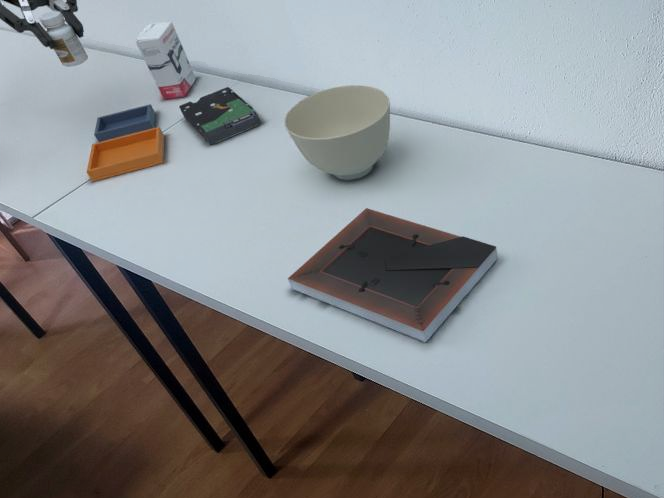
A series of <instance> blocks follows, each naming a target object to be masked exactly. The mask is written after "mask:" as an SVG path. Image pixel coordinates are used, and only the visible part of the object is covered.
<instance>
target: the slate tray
mask: <svg viewBox="0 0 664 498" xmlns="http://www.w3.org/2000/svg"><path fill="white" fill-rule="evenodd" d="M155 125H156V112H155V110H154V108H153V106H152V104H149V103H148V104H145V105H142V106H141V105H140V106H138V107H135V108H130V109H126V110H121V111H118V112H114V113H110V114H105V115H103V116H102V115H101V116H98V117H97V118H96V123H95V128H94V133H93V136H94V137H95V138H96V140H97V143H98V142H102V141H106V140H110V139H114V138H118V137H121V136H125V135H129V134H133V133H137V132H141V131H145V130H149V129H153V128H156V127H155Z"/></svg>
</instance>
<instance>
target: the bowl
mask: <svg viewBox="0 0 664 498" xmlns="http://www.w3.org/2000/svg"><path fill="white" fill-rule="evenodd" d="M283 123H284V127H285V130H286V131H287V133H288V135H289V136H290V138H291V139H292V141H293V142H294V144H295V146H296V147H297V148H298V150H299V152H300V153H301V154H302V156H303V157H304V158H305V159H306V160H307V161H308V163H309V164H311V165H312V166H313V167H315V168H316V169H318V170H320V171H322V172H324V173H327V174H330V175H334V176H335V177H336V178H337V179H340V180H343V181H351V180H357V179H360V178H364V177H365V176H366V175H368V174H369V173H370V172H371V171H372V169H373V168H374V164H376V163H377V162H378V161H379V160H380V158H381V157H382V156H383V155H384V153H385V151H386V149H387V146H388V143H389V139H390V131H391V130H390V129H391V102H390V98H389V96H388V94H387V93H385V92H384V91H382V90H381V89H379V88H376V87H373V86H369V85H359V84H358V85H357V84H356V85H355V84H354V85H352V84H351V85H342V86H336V87H331V88H327V89H324V90H320V91H318V92H315V93H313V94H310V95H308V96H307V97H304V98H302V99H301V100H300V101H298V102H297V103H295V104H294V105H293V106H291V108H290V109H289V110H288V111H287V113H286V115H285V116H284V121H283Z"/></svg>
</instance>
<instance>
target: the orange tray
mask: <svg viewBox="0 0 664 498" xmlns="http://www.w3.org/2000/svg"><path fill="white" fill-rule="evenodd" d="M88 157H89V158H88V162H87V168H86V174H87V175H88V177H89V178H90V180H91V181H92V182H97V181H100V180H105V179H108V178H112V177H116V176H120V175H123V174H124V175H125V174H127V173H131V172H134V171H139V170H142V169H146V168H151V167H154V166H157V165H158V166H159V165H161V164H164V161H165V159H164V158H165V135H164V132H163V130H162V129H161V126H158V127H154V128H153V129H149V130H145V131H141V132H137V133H133V134H129V135H125V136H121V137H118V138H114V139H110V140H106V141H102V142H98V141H97V142H95V143H92V144H91V148H90V151H89V156H88Z"/></svg>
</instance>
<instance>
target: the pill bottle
mask: <svg viewBox="0 0 664 498" xmlns="http://www.w3.org/2000/svg"><path fill="white" fill-rule="evenodd" d="M38 19H39V22H40V24H41V26H42V27H43V28H44V29H45V31H46V32H47V33H48V34H49V36H50V37H51V38H52V39H53V41H54V43H55V47H56V48H54V49H53V51H54V52H55V55H56V57H57V58H58V59H59V61H60V63H61V65H62V66H64V67H68V68H69V67H76V66H80V65H82V64H84V63H85V62H86V61H87V60H88V59H89V56H88V54H87V52H86V50H85V48H84V46H83V45H82V42H81V41H80V38H79V37H78V36H77V35H76V34H75V32H74V30H73V28H72V27H71V26H70V25H68V24H67V23H66V21H65V18H64V17H63V16H62V14H61V13H60V12H59V11H49V12H47V13H44V14H42V15H41V16H39V18H38Z"/></svg>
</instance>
